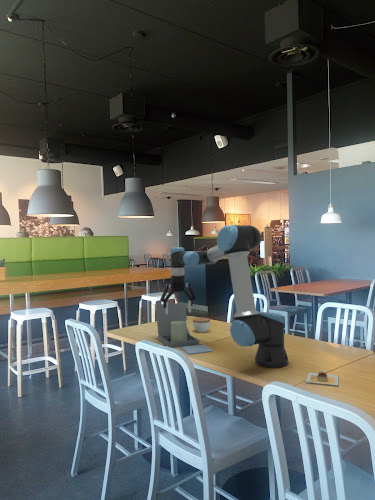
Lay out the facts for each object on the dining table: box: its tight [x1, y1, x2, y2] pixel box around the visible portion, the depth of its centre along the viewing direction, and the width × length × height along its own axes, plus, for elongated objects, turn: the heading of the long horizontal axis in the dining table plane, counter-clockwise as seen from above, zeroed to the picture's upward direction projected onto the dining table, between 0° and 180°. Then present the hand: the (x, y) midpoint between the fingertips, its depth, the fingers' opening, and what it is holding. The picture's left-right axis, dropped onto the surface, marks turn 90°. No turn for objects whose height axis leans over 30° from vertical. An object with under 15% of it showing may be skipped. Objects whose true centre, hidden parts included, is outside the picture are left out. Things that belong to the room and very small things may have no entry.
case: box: [155, 302, 200, 349], centre depth 226 cm, size 23×18×20 cm
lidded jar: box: [192, 316, 211, 333], centre depth 250 cm, size 11×11×9 cm
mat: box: [180, 344, 214, 355], centre depth 208 cm, size 13×13×1 cm
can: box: [170, 321, 188, 343], centre depth 223 cm, size 9×9×12 cm
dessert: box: [305, 369, 339, 387], centre depth 161 cm, size 12×12×5 cm
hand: (178, 313), depth 223 cm, fingers open, 13 cm apart
